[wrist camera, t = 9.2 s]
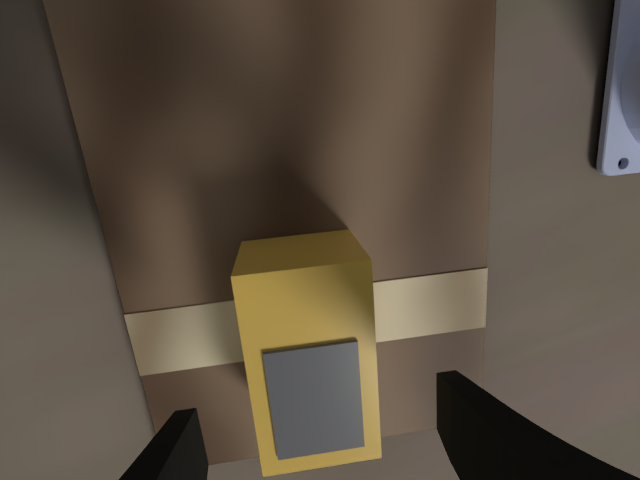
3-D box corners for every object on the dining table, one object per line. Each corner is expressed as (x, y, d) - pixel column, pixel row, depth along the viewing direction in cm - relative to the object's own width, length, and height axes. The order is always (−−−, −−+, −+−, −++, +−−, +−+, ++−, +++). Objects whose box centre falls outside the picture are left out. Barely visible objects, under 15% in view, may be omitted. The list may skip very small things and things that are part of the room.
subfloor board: (486, -139, 14) (503, -160, 13) (471, 407, 21) (482, 421, 20) (26, -120, 13) (4, -142, 12) (171, 455, 19) (165, 473, 18)
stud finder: (349, 229, 16) (373, 261, 12) (359, 389, 18) (382, 461, 14) (241, 241, 16) (230, 278, 12) (265, 403, 18) (262, 480, 14)
